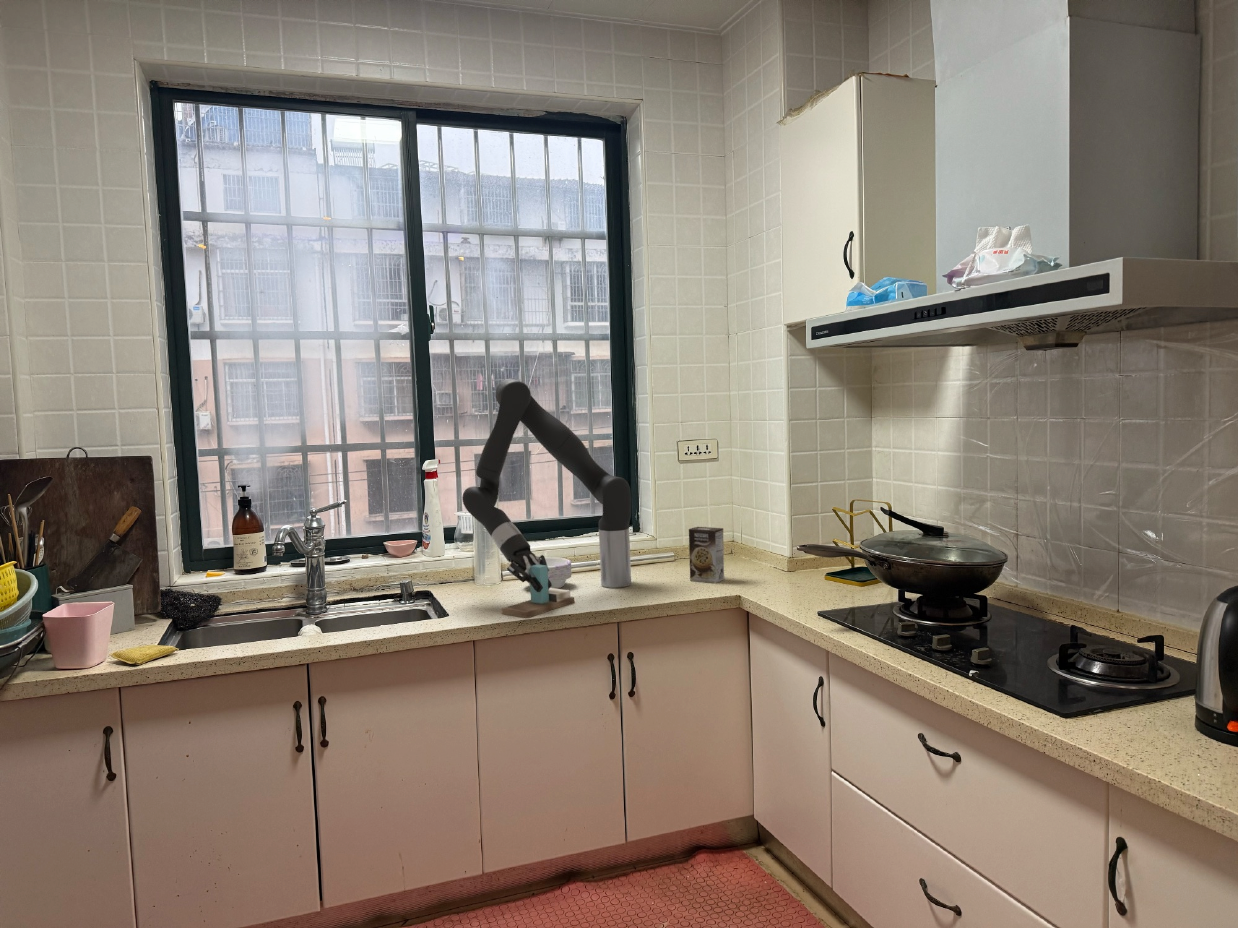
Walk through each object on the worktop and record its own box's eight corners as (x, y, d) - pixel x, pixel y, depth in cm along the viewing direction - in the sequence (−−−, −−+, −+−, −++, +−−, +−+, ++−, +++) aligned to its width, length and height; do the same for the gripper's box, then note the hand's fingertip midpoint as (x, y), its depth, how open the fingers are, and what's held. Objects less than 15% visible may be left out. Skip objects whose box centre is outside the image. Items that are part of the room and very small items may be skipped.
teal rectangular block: (538, 599, 237) (536, 564, 237) (549, 601, 235) (547, 565, 234) (531, 602, 235) (529, 566, 234) (541, 603, 233) (540, 567, 232)
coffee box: (689, 581, 261) (687, 529, 260) (698, 577, 267) (696, 525, 266) (716, 583, 257) (714, 530, 255) (725, 579, 262) (723, 527, 261)
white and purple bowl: (570, 591, 253) (569, 565, 253) (519, 593, 254) (517, 567, 253) (574, 581, 269) (573, 556, 268) (526, 582, 269) (524, 557, 268)
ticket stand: (550, 598, 245) (549, 586, 245) (574, 602, 240) (573, 589, 239) (502, 613, 230) (501, 600, 229) (526, 617, 224) (526, 604, 224)
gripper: (499, 536, 233) (534, 585, 226) (534, 529, 244) (568, 575, 237) (486, 554, 236) (520, 602, 230) (521, 546, 247) (555, 592, 241)
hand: (544, 588), depth 233 cm, fingers closed on teal rectangular block, 3 cm apart
